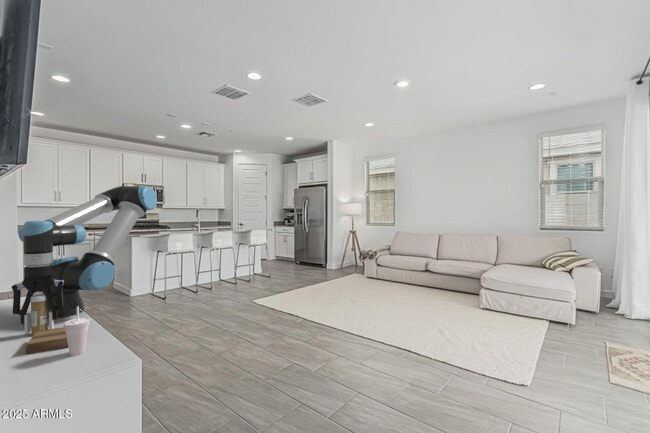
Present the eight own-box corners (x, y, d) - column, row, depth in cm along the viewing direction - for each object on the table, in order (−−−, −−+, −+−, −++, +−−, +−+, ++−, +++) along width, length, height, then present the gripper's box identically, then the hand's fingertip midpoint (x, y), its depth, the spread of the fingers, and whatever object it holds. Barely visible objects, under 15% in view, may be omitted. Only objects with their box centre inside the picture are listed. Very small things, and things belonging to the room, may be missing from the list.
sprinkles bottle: (48, 333, 110) (48, 295, 109) (31, 337, 106) (30, 297, 106) (47, 329, 113) (47, 292, 112) (30, 333, 110) (29, 295, 109)
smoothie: (93, 347, 99) (93, 303, 99) (86, 355, 93) (85, 309, 93) (69, 350, 97) (68, 305, 97) (59, 359, 91) (59, 311, 91)
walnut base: (37, 339, 104) (37, 331, 104) (82, 332, 110) (82, 324, 110) (26, 354, 94) (26, 344, 94) (76, 345, 100) (76, 336, 100)
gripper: (-3, 269, 101) (-2, 340, 102) (70, 264, 110) (71, 329, 111) (5, 265, 107) (6, 332, 108) (74, 261, 117) (75, 322, 117)
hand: (39, 330), depth 110 cm, fingers open, 6 cm apart
